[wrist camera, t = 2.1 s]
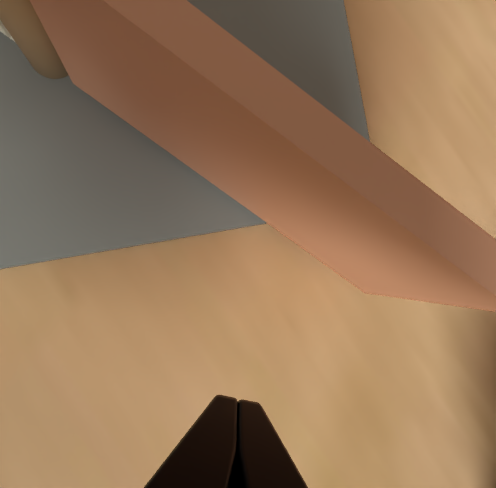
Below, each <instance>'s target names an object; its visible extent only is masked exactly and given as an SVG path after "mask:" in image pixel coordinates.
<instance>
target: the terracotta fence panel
mask: <svg viewBox="0 0 496 488" xmlns="http://www.w3.org/2000/svg"><path fill="white" fill-rule="evenodd" d="M30 2H31V4H32V6H33V8H34V10H35V12H36V14H37V15H38V17H39V19H40V21H41V23H42V25H43V27H44V29H45V31H46V33H47V35H48V37H49V38H50V40H51V42H52V44H53V46H54V48H55V50H56V52H57V54H58V56H59V58H60V59H61V61H62V63H63V65H64V67H65V69H66V71H67V73H68V75H69V77H70V79H71V81H72V82H73V84H74V85H76V86H77V87H79V88H80V89H81V90H83V91H84V92H85V93H87V94H88V95H90V96H91V97H92V98H94V99H95V100H97V101H98V102H99V103H101V104H102V105H104V106H105V107H106V108H108V109H109V110H111V111H112V112H113V113H115V114H116V115H117V116H119V117H120V118H122V119H123V120H124V121H126V122H127V123H129V124H130V125H131V126H133V127H134V128H136V129H137V130H138V131H140V132H141V133H143V134H144V135H145V136H147V137H148V138H149V139H151V140H152V141H154V142H155V143H156V144H158V145H159V146H161V147H162V148H163V149H165V150H166V151H168V152H169V153H170V154H172V155H173V156H175V157H176V158H177V159H179V160H180V161H181V162H183V163H184V164H186V165H187V166H188V167H190V168H191V169H193V170H194V171H195V172H197V173H198V174H200V175H201V176H202V177H204V178H205V179H207V180H208V181H209V182H211V183H212V184H214V185H215V186H216V187H218V188H219V189H220V190H222V191H223V192H225V193H226V194H227V195H229V196H230V197H232V198H233V199H234V200H236V201H237V202H239V203H240V204H241V205H243V206H244V207H246V208H247V209H248V210H250V211H251V212H252V213H254V214H255V215H257V216H258V217H259V218H261V219H262V220H264V221H265V222H266V223H268V224H269V225H271V226H272V227H273V228H275V229H276V230H278V231H279V232H280V233H282V234H283V235H284V236H286V237H287V238H289V239H290V240H291V241H293V242H294V243H296V244H297V245H298V246H300V247H301V248H303V249H304V250H305V251H307V252H308V253H310V254H311V255H312V256H314V257H315V258H317V259H318V260H319V261H321V262H322V263H323V264H325V265H326V266H328V267H329V268H330V269H332V270H333V271H335V272H336V273H337V274H339V275H340V276H342V277H343V278H344V279H346V280H347V281H349V282H350V283H351V284H353V285H354V286H355V287H357V288H358V289H360V290H361V291H362V292H364V293H367V294H374V295H382V296H389V297H396V298H403V299H410V300H417V301H424V302H431V303H438V304H445V305H452V306H459V307H466V308H473V309H480V310H487V311H494V312H496V239H495V238H493V237H492V236H491V235H489V234H488V233H487V232H486V231H484V230H483V229H482V228H480V227H479V226H478V225H476V224H475V223H474V222H473V221H471V220H470V219H469V218H467V217H466V216H465V215H464V214H462V213H461V212H460V211H458V210H457V209H456V208H454V207H453V206H452V205H451V204H449V203H448V202H447V201H445V200H444V199H443V198H442V197H440V196H439V195H438V194H436V193H435V192H434V191H433V190H431V189H430V188H429V187H427V186H426V185H425V184H423V183H422V182H421V181H420V180H418V179H417V178H416V177H414V176H413V175H412V174H411V173H409V172H408V171H407V170H405V169H404V168H403V167H402V166H400V165H399V164H398V163H396V162H395V161H394V160H392V159H391V158H390V157H389V156H387V155H386V154H385V153H383V152H382V151H381V150H380V149H378V148H377V147H376V146H374V145H373V144H372V143H370V142H369V141H368V140H367V139H365V138H364V137H363V136H361V135H360V134H359V133H358V132H356V131H355V130H354V129H352V128H351V127H350V126H349V125H347V124H346V123H345V122H343V121H342V120H341V119H339V118H338V117H337V116H336V115H334V114H333V113H332V112H330V111H329V110H328V109H327V108H325V107H324V106H323V105H321V104H320V103H319V102H317V101H316V100H315V99H314V98H312V97H311V96H310V95H308V94H307V93H306V92H305V91H303V90H302V89H301V88H299V87H298V86H297V85H296V84H294V83H293V82H292V81H290V80H289V79H288V78H286V77H285V76H284V75H283V74H281V73H280V72H279V71H277V70H276V69H275V68H274V67H272V66H271V65H270V64H268V63H267V62H266V61H264V60H263V59H262V58H261V57H259V56H258V55H257V54H255V53H254V52H253V51H252V50H250V49H249V48H248V47H246V46H245V45H244V44H243V43H241V42H240V41H239V40H237V39H236V38H235V37H233V36H232V35H231V34H230V33H228V32H227V31H226V30H224V29H223V28H222V27H221V26H219V25H218V24H217V23H215V22H214V21H213V20H211V19H210V18H209V17H208V16H206V15H205V14H204V13H202V12H201V11H200V10H199V9H197V8H196V7H195V6H193V5H192V4H191V3H190V2H188V1H187V0H30Z"/></svg>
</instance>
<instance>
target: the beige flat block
mask: <svg viewBox="0 0 496 488" xmlns="http://www.w3.org/2000/svg"><path fill="white" fill-rule="evenodd" d="M0 31H1V32H2V33H3V34H5V35H6V36H8V37H9V38H10V37H11V36H12V38H13V39H14V41H15V42H16V44H17V45H18V47H19V48H20V49H21V51H22V52H23V54H24V55H25V57H26V58H27V60H28V61H29V63H30V64H31V66H32V67H33V68H34V70H35V71H36V72H38V73H39V74H40V75H42V76H44V77H47V78H51V79H60V78H64V77H66V76H68V73H67V71H66V69H65V67H64V65H63V63H62V61H61V59H60V58H59V56H58V54H57V52H56V50H55V48H54V46H53V44H52V42H51V40H50V38H49V37H48V35H47V33H46V31H45V29H44V27H43V25H42V23H41V21H40V19H39V17H38V15H37V14H36V12H35V10H34V8H33V6H32V4H31V2H30V0H0Z"/></svg>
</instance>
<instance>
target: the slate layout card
mask: <svg viewBox="0 0 496 488" xmlns="http://www.w3.org/2000/svg"><path fill="white" fill-rule="evenodd" d="M187 1H188V2H190V3H191V4H192V5H193V6H195V7H196V8H197V9H199V10H200V11H201V12H202V13H204V14H205V15H206V16H208V17H209V18H210V19H211V20H213V21H214V22H215V23H217V24H218V25H219V26H221V27H222V28H223V29H224V30H226V31H227V32H228V33H230V34H231V35H232V36H233V37H235V38H236V39H237V40H239V41H240V42H241V43H243V44H244V45H245V46H246V47H248V48H249V49H250V50H252V51H253V52H254V53H255V54H257V55H258V56H259V57H261V58H262V59H263V60H264V61H266V62H267V63H268V64H270V65H271V66H272V67H274V68H275V69H276V70H277V71H279V72H280V73H281V74H283V75H284V76H285V77H286V78H288V79H289V80H290V81H292V82H293V83H294V84H296V85H297V86H298V87H299V88H301V89H302V90H303V91H305V92H306V93H307V94H308V95H310V96H311V97H312V98H314V99H315V100H316V101H317V102H319V103H320V104H321V105H323V106H324V107H325V108H327V109H328V110H329V111H330V112H332V113H333V114H334V115H336V116H337V117H338V118H339V119H341V120H342V121H343V122H345V123H346V124H347V125H349V126H350V127H351V128H352V129H354V130H355V131H356V132H358V133H359V134H360V135H361V136H363V137H364V138H365V139H367V140H368V141H369V142H370V139H369V134H368V129H367V123H366V118H365V113H364V107H363V102H362V97H361V91H360V86H359V81H358V75H357V70H356V65H355V59H354V54H353V49H352V43H351V38H350V33H349V27H348V22H347V17H346V11H345V6H344V1H343V0H187ZM260 224H266V222H265V221H264V220H262V219H261V218H259V217H258V216H257V215H255V214H254V213H252V212H251V211H250V210H248V209H247V208H246V207H244V206H243V205H241V204H240V203H239V202H237V201H236V200H234V199H233V198H232V197H230V196H229V195H227V194H226V193H225V192H223V191H222V190H220V189H219V188H218V187H216V186H215V185H214V184H212V183H211V182H209V181H208V180H207V179H205V178H204V177H202V176H201V175H200V174H198V173H197V172H195V171H194V170H193V169H191V168H190V167H188V166H187V165H186V164H184V163H183V162H181V161H180V160H179V159H177V158H176V157H175V156H173V155H172V154H170V153H169V152H168V151H166V150H165V149H163V148H162V147H161V146H159V145H158V144H156V143H155V142H154V141H152V140H151V139H149V138H148V137H147V136H145V135H144V134H143V133H141V132H140V131H138V130H137V129H136V128H134V127H133V126H131V125H130V124H129V123H127V122H126V121H124V120H123V119H122V118H120V117H119V116H117V115H116V114H115V113H113V112H112V111H111V110H109V109H108V108H106V107H105V106H104V105H102V104H101V103H99V102H98V101H97V100H95V99H94V98H92V97H91V96H90V95H88V94H87V93H85V92H84V91H83V90H81V89H80V88H79V87H77V86H76V85H74V84H73V82H72V81H71V79H70V77H69V75H68V76H66V77H64V78H60V79H51V78H47V77H44V76H42V75H40V74H39V73H38V72H36V71H35V70H34V68H33V67H32V66H31V64H30V63H29V61H28V60H27V58H26V57H25V55H24V54H23V52H22V51H21V49H20V48H19V47H18V45H17V44H16V42H15V41H14V39H13V38H12V36H11V37H10V38H9V37H8V36H6V35H5V34H3V33H2V32H1V31H0V269H4V268H10V267H15V266H21V265H27V264H33V263H39V262H44V261H50V260H56V259H62V258H68V257H74V256H79V255H85V254H91V253H97V252H103V251H109V250H114V249H120V248H126V247H132V246H138V245H143V244H149V243H155V242H161V241H167V240H173V239H178V238H184V237H190V236H196V235H202V234H208V233H213V232H219V231H225V230H231V229H237V228H242V227H248V226H254V225H260Z"/></svg>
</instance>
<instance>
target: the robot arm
mask: <svg viewBox="0 0 496 488" xmlns="http://www.w3.org/2000/svg"><path fill="white" fill-rule="evenodd" d="M144 488H308V487H307V485H306V483H305V482H304V480H303V478H302V476H301V475H300V473H299V471H298V469H297V468H296V466H295V464H294V462H293V460H292V459H291V457H290V455H289V453H288V452H287V450H286V448H285V446H284V445H283V443H282V441H281V439H280V438H279V436H278V434H277V432H276V431H275V429H274V427H273V425H272V424H271V422H270V420H269V418H268V417H267V415H266V413H265V411H264V410H263V408H262V406H261V405H260V404H259V403H257V402H252V401H247V400H239V401H237V399H236V398H233V397H228V396H223V395H217V396H215V397H214V399H213V400H212V401H211V402H210V404H209V405H208V406H207V408H206V409H205V410H204V411H203V413H202V414H201V415H200V416H199V418H198V419H197V420H196V422H195V423H194V424H193V425H192V427H191V428H190V429H189V431H188V432H187V433H186V434H185V436H184V437H183V438H182V439H181V441H180V442H179V443H178V445H177V446H176V447H175V448H174V450H173V451H172V452H171V454H170V455H169V456H168V457H167V459H166V460H165V461H164V462H163V464H162V465H161V466H160V468H159V469H158V470H157V471H156V473H155V474H154V475H153V477H152V478H151V479H150V480H149V482H148V483H147V484H146V485H145V487H144Z"/></svg>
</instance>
